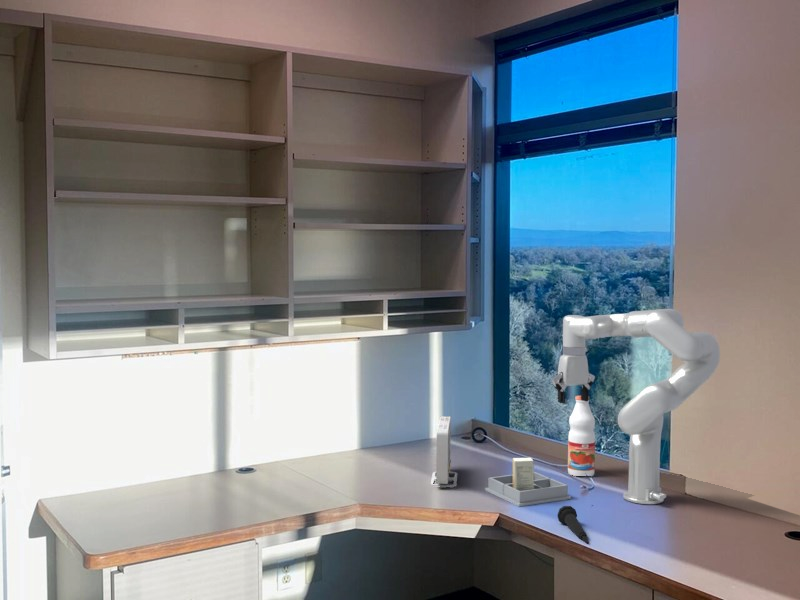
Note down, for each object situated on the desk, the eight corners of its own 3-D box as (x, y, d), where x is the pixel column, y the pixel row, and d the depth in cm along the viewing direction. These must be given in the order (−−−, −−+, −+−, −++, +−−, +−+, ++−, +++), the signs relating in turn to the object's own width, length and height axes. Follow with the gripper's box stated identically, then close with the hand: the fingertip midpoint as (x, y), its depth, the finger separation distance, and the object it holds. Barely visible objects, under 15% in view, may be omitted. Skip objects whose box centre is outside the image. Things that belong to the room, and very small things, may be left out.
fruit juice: (591, 471, 302) (593, 394, 301) (596, 478, 293) (598, 398, 291) (565, 470, 303) (567, 394, 301) (569, 477, 293) (571, 398, 292)
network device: (433, 470, 303) (434, 415, 301) (457, 470, 302) (458, 416, 301) (429, 489, 277) (429, 430, 276) (455, 490, 276) (456, 430, 275)
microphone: (592, 554, 227) (568, 522, 246) (600, 535, 226) (575, 504, 245) (574, 549, 226) (552, 517, 245) (582, 530, 225) (559, 499, 244)
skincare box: (531, 494, 268) (531, 457, 268) (534, 498, 264) (534, 460, 263) (511, 494, 268) (512, 457, 267) (514, 498, 264) (514, 460, 263)
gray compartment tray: (571, 498, 267) (571, 485, 267) (518, 506, 259) (519, 493, 259) (534, 483, 285) (535, 470, 285) (484, 490, 277) (485, 477, 277)
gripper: (587, 349, 290) (586, 398, 290) (546, 351, 282) (545, 401, 283) (601, 351, 283) (600, 401, 284) (559, 354, 275) (559, 405, 276)
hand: (573, 401), depth 283 cm, fingers open, 9 cm apart
